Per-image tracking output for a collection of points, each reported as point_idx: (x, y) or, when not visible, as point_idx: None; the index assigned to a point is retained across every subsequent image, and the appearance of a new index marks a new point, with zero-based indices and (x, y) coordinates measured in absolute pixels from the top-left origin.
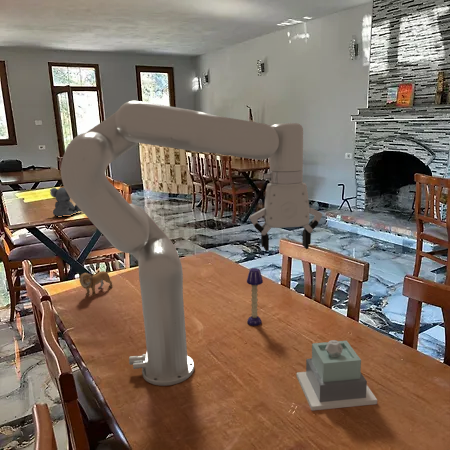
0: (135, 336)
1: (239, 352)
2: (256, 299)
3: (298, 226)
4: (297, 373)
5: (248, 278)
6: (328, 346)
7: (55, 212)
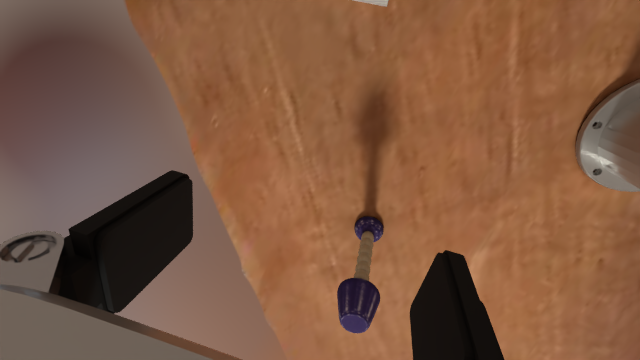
0: (629, 284)
1: (453, 141)
2: (361, 257)
3: (83, 306)
4: (386, 1)
5: (376, 306)
6: None
7: None
